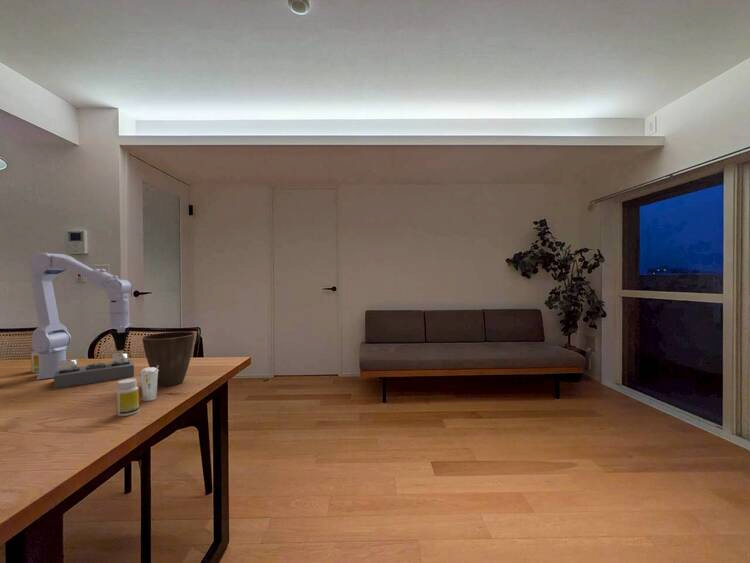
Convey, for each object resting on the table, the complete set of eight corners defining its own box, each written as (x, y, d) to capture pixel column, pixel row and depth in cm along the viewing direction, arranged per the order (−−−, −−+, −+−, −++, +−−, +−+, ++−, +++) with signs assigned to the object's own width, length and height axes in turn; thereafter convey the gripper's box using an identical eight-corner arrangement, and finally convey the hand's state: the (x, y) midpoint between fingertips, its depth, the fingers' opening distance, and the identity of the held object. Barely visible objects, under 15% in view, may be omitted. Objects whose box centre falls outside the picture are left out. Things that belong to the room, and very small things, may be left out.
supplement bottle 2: (143, 410, 93) (142, 379, 93) (125, 417, 88) (124, 384, 88) (130, 408, 94) (129, 377, 94) (112, 415, 90) (111, 382, 90)
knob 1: (60, 373, 118) (60, 359, 118) (78, 370, 121) (77, 357, 121) (60, 376, 115) (59, 362, 115) (77, 373, 118) (77, 360, 118)
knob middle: (87, 376, 123) (87, 363, 123) (103, 374, 126) (103, 361, 126) (87, 379, 119) (87, 366, 119) (104, 377, 122) (103, 364, 122)
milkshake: (152, 402, 99) (151, 367, 98) (136, 401, 100) (135, 366, 100) (165, 397, 103) (164, 363, 103) (149, 396, 104) (148, 362, 104)
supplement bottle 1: (27, 372, 132) (27, 346, 131) (44, 368, 137) (43, 344, 137) (38, 373, 130) (37, 347, 130) (54, 369, 135) (53, 344, 135)
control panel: (56, 380, 120) (56, 369, 120) (131, 370, 133) (130, 359, 133) (54, 388, 112) (53, 376, 112) (134, 376, 125) (133, 365, 125)
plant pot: (131, 388, 111) (130, 338, 111) (170, 375, 126) (169, 330, 126) (169, 392, 107) (168, 340, 107) (205, 378, 122) (204, 332, 122)
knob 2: (112, 366, 127) (112, 353, 127) (127, 364, 130) (127, 351, 130) (113, 368, 124) (113, 355, 124) (128, 366, 127) (128, 353, 126)
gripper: (134, 313, 123) (135, 351, 124) (131, 310, 135) (131, 345, 135) (109, 315, 119) (110, 355, 119) (107, 311, 130) (108, 348, 130)
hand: (120, 350), depth 127 cm, fingers closed
